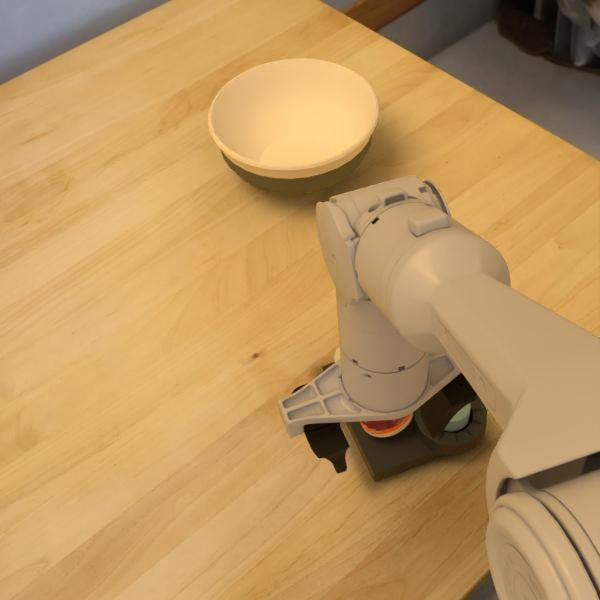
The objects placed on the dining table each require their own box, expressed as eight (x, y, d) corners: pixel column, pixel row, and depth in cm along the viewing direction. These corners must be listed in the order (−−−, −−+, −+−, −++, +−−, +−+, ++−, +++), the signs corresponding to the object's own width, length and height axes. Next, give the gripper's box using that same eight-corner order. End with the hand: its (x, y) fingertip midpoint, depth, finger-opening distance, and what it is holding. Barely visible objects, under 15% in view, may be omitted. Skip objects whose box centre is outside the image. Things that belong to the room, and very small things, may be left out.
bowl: (382, 222, 92) (382, 165, 86) (210, 226, 93) (198, 170, 87) (378, 111, 104) (377, 53, 97) (225, 116, 105) (215, 60, 99)
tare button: (475, 424, 73) (477, 413, 71) (441, 437, 72) (442, 426, 71) (458, 395, 75) (459, 383, 73) (425, 407, 74) (425, 396, 73)
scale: (496, 447, 74) (499, 429, 72) (379, 492, 72) (379, 476, 70) (429, 336, 82) (431, 317, 80) (322, 374, 80) (321, 356, 78)
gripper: (459, 256, 57) (447, 370, 68) (255, 326, 55) (275, 433, 65) (512, 334, 53) (490, 443, 63) (293, 413, 50) (308, 513, 61)
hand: (384, 443), depth 64 cm, fingers open, 7 cm apart
